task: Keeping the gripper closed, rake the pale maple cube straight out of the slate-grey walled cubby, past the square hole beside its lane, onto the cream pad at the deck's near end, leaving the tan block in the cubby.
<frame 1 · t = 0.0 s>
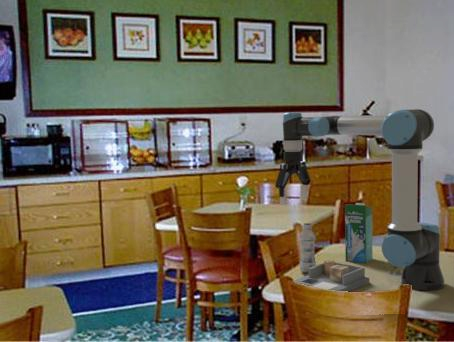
hand: (293, 202, 238), 28 cm above the table, fingers open, 13 cm apart
plastic bottle: (308, 273, 235), on the table
cubby deck: (330, 284, 219), on the table
milk carton: (359, 260, 253), on the table
maple cube: (339, 280, 217), point 2 cm above the table, touching cubby deck
tan block: (329, 274, 225), point 2 cm above the table, touching cubby deck
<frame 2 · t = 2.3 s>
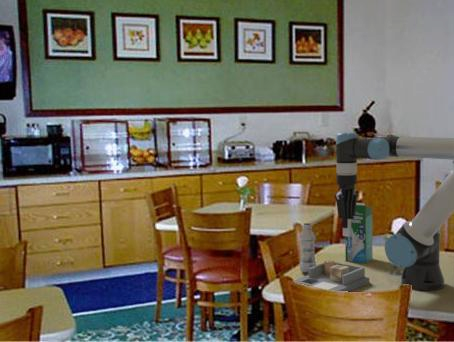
hand: (346, 235, 220), 18 cm above the table, fingers closed
nothing on the table moved.
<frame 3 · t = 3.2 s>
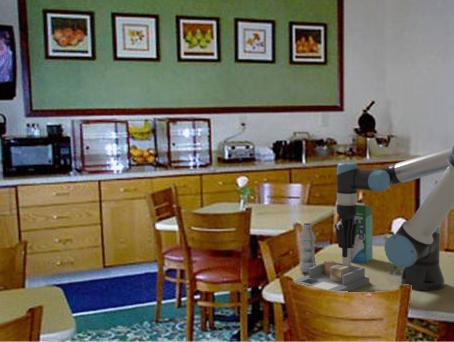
hand: (346, 264, 221), 7 cm above the table, fingers closed
nothing on the table moved.
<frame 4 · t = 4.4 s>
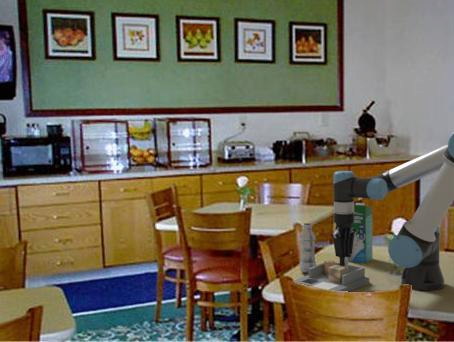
hand: (344, 273, 220), 4 cm above the table, fingers closed
maple cube: (338, 280, 217), point 2 cm above the table, touching cubby deck, gripper
everything else where it was.
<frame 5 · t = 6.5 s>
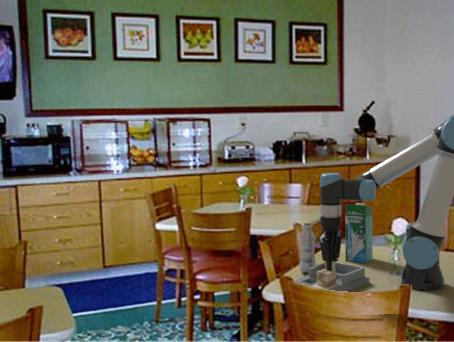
hand: (331, 278, 214), 4 cm above the table, fingers closed
maple cube: (326, 284, 212), point 2 cm above the table, touching cubby deck, gripper
everything else where it was.
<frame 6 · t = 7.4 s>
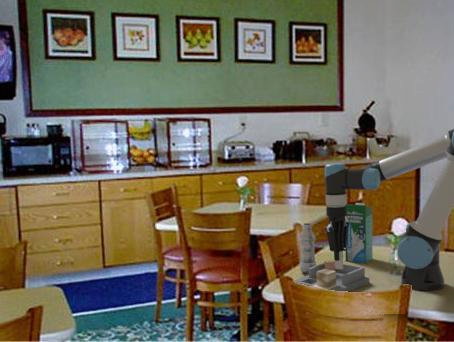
hand: (339, 268, 215), 7 cm above the table, fingers closed
maple cube: (326, 284, 212), point 2 cm above the table, touching cubby deck
everything else where it was.
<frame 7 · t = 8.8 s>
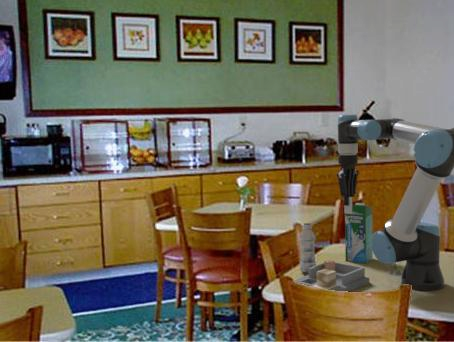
hand: (348, 213, 231), 24 cm above the table, fingers closed
nothing on the table moved.
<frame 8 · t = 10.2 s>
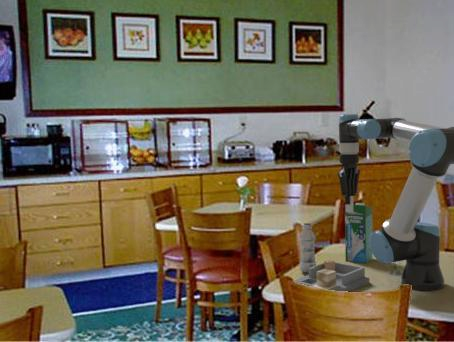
hand: (349, 212, 233), 24 cm above the table, fingers closed
nothing on the table moved.
at the end: maple cube inside the target area (1.5 cm from its centre), point 2.0 cm above the table; maple cube tilted 0°; tan block moved 0.0 cm from its start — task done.
